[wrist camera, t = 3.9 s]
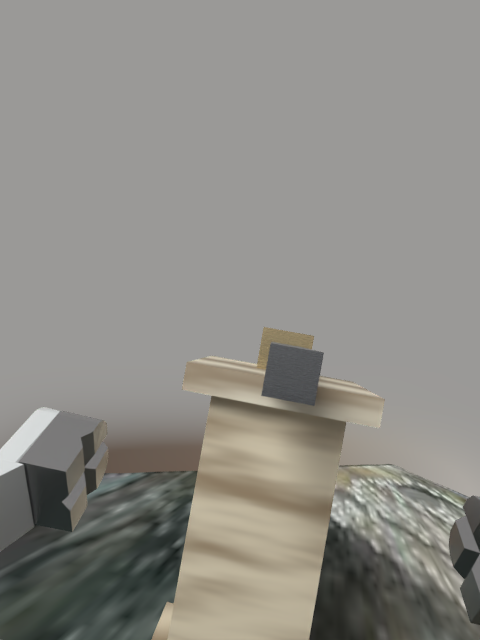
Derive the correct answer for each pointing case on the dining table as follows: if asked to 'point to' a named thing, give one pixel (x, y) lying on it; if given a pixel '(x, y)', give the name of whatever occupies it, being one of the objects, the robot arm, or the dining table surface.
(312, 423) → the shelf stand
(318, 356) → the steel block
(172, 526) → the dining table surface
